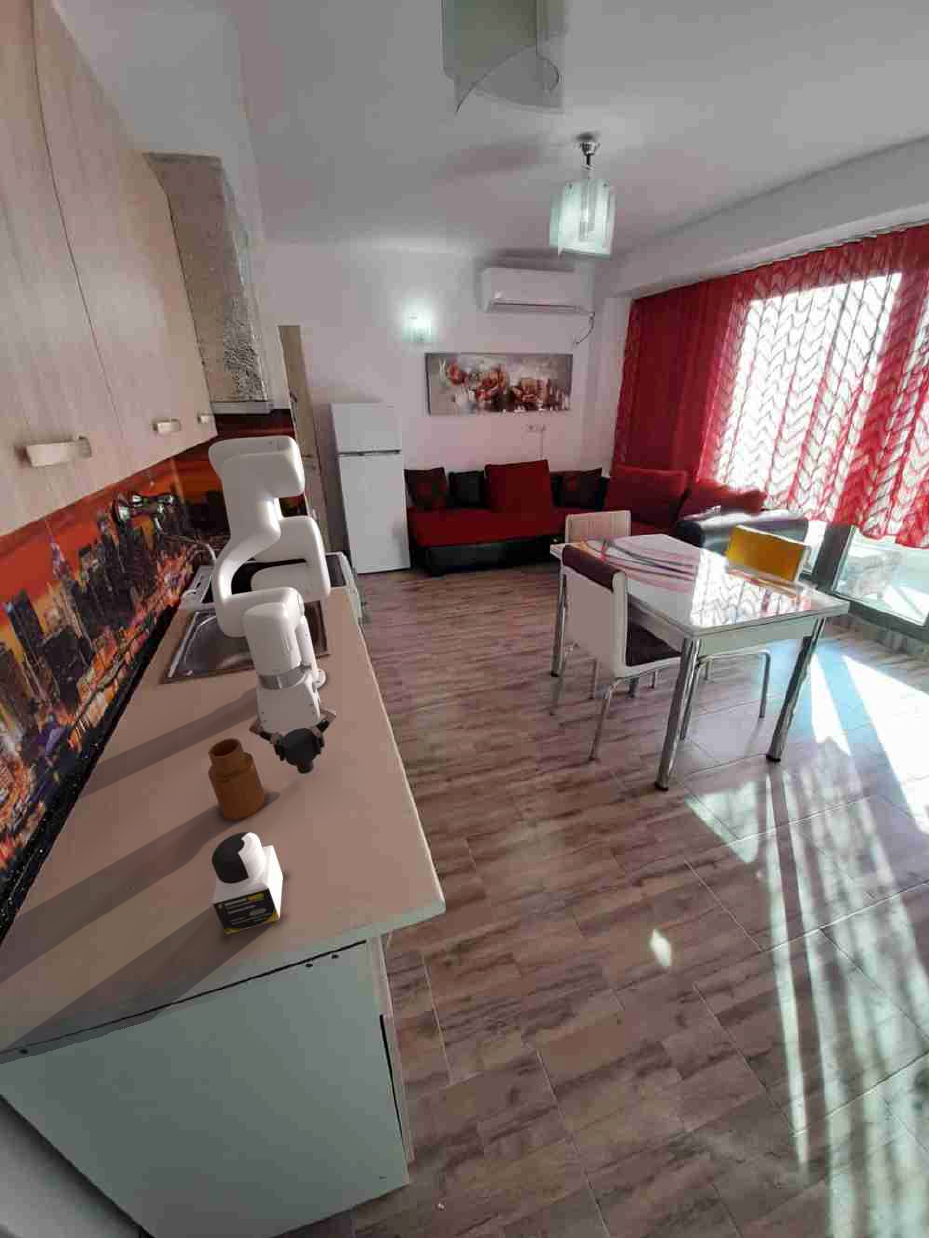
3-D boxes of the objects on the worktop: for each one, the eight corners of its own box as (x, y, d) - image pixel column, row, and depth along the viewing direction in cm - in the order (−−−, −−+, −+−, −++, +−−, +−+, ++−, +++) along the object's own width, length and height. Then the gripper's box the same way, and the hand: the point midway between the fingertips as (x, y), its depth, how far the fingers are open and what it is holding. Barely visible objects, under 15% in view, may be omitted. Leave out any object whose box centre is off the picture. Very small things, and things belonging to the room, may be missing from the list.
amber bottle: (227, 792, 89) (208, 738, 84) (267, 785, 90) (250, 731, 85) (217, 823, 83) (195, 766, 77) (260, 814, 84) (242, 758, 78)
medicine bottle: (225, 936, 65) (200, 877, 60) (234, 889, 71) (211, 832, 66) (279, 920, 67) (259, 862, 61) (283, 876, 73) (265, 819, 68)
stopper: (291, 760, 94) (283, 730, 91) (322, 755, 95) (315, 725, 92) (287, 782, 89) (279, 751, 85) (320, 776, 90) (313, 745, 86)
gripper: (332, 655, 87) (348, 732, 95) (233, 669, 84) (258, 747, 92) (330, 676, 80) (347, 758, 88) (223, 692, 77) (250, 775, 85)
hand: (301, 752), depth 90 cm, fingers closed on stopper, 6 cm apart
